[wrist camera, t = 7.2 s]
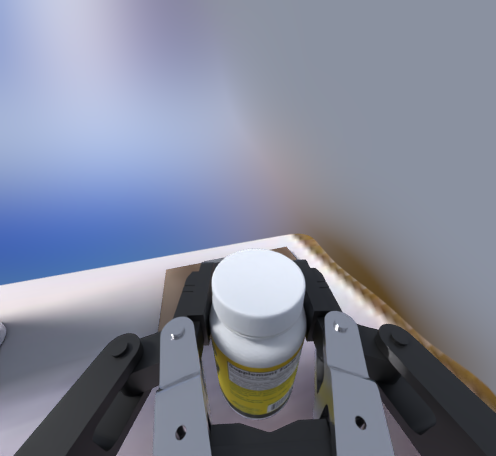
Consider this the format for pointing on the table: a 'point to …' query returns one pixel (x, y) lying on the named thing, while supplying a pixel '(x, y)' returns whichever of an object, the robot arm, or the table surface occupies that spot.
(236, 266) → the supplement bottle
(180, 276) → the seat board
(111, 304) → the table surface
